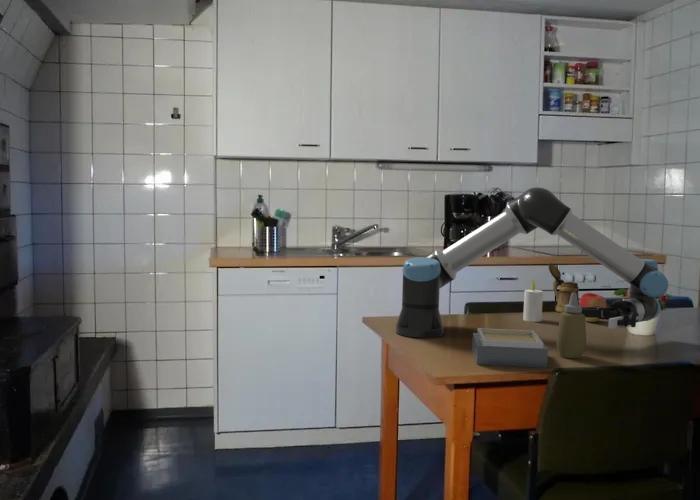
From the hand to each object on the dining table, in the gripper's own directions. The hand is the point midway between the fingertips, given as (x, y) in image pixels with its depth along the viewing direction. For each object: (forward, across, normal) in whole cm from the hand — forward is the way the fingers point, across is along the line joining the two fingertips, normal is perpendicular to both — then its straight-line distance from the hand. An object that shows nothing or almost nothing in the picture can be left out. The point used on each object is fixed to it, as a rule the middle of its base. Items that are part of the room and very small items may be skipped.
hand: (587, 319), depth 193 cm
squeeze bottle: (+7, 0, -10) cm, 12 cm away
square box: (+24, +9, -10) cm, 27 cm away
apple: (-45, +25, -10) cm, 53 cm away
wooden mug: (-55, +43, -10) cm, 71 cm away
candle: (-29, +38, -10) cm, 49 cm away
